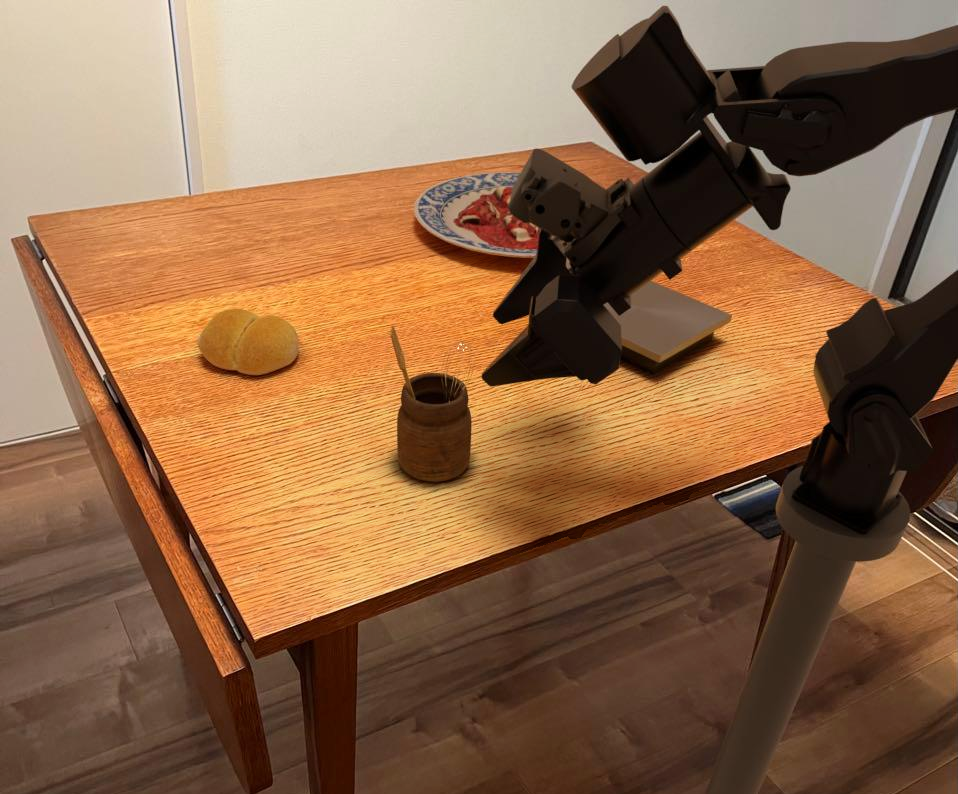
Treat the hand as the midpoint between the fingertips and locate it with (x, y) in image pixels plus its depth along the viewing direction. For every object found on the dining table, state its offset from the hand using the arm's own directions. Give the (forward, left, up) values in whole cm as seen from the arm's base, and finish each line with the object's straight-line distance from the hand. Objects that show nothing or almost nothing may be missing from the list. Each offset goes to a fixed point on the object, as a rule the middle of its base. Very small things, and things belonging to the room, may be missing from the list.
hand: (491, 348), depth 68 cm
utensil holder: (+3, +3, -11) cm, 12 cm away
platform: (+5, -27, -11) cm, 30 cm away
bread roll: (+27, +4, -11) cm, 30 cm away
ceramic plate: (+31, -38, -11) cm, 51 cm away
